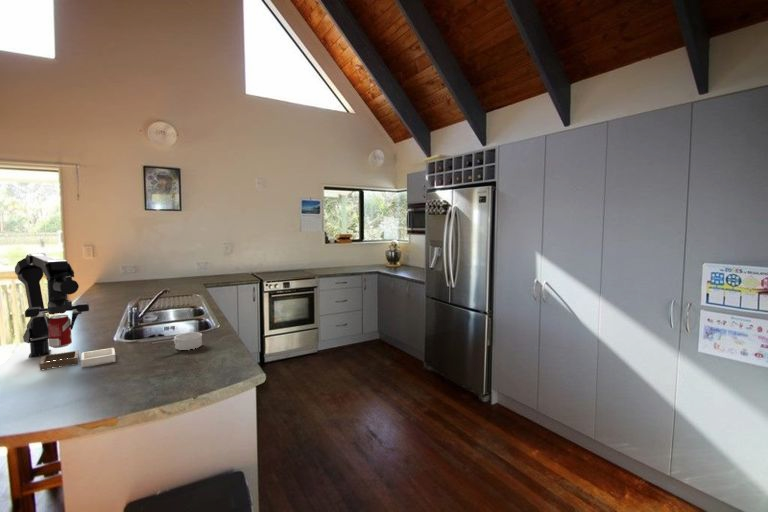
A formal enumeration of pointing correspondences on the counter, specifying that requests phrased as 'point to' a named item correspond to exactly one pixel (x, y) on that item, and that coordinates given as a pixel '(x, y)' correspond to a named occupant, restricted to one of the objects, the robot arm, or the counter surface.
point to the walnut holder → (57, 357)
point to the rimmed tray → (97, 357)
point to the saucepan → (185, 341)
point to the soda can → (59, 331)
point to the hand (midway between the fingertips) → (59, 330)
